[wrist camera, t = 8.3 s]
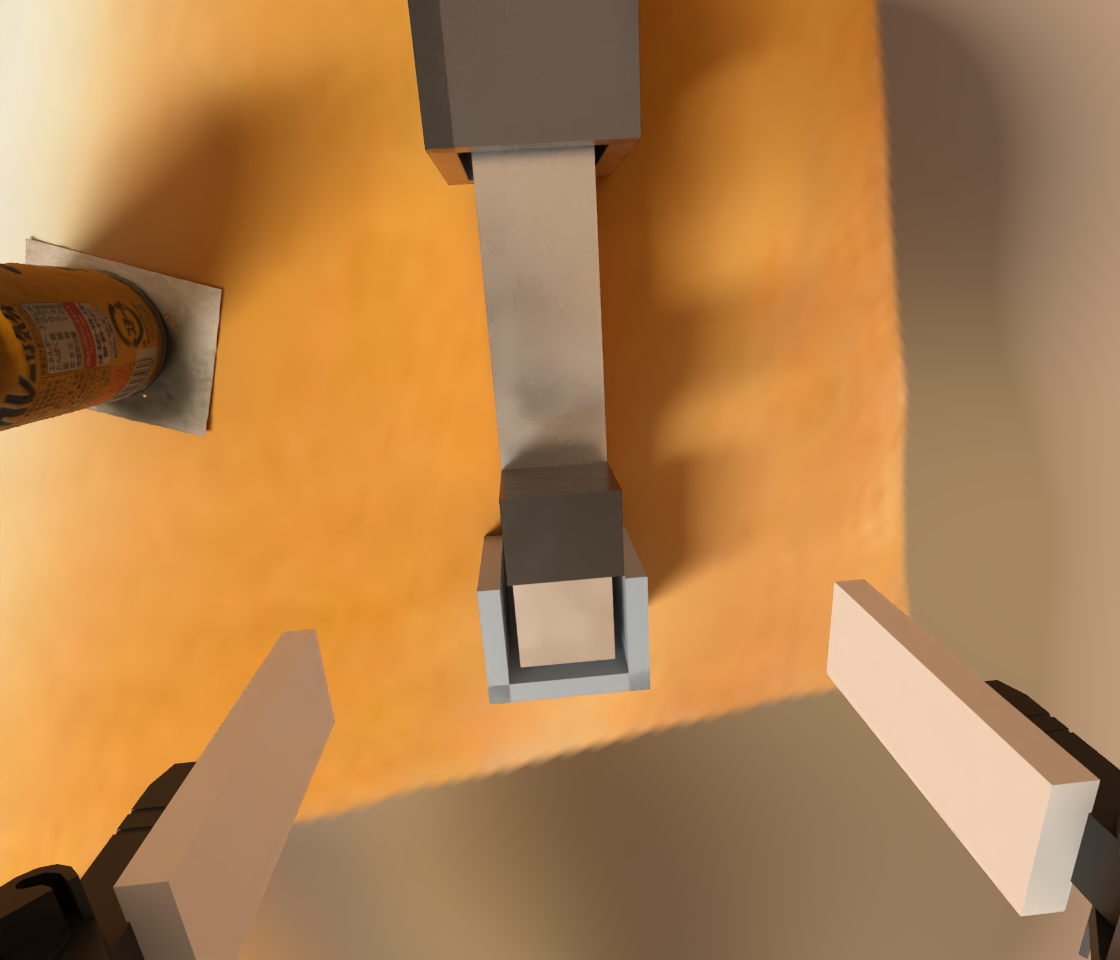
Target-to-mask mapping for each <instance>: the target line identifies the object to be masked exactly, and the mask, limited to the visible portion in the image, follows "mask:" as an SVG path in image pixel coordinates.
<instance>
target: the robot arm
mask: <svg viewBox="0 0 1120 960" xmlns="http://www.w3.org/2000/svg"><path fill="white" fill-rule="evenodd" d="M827 674H828V676H829V677H830V678H831V679H832V681H833V682H834V683H835V684H836V686H837V687H838V688H839V689H840V691H841V692H842V693H843V694H844V696H845V697H846V698H847V699H848V701H849V702H850V703H851V704H852V706H853V707H854V708H855V709H856V711H857V712H858V713H859V714H860V716H861V717H862V718H863V719H864V721H865V722H866V723H867V724H868V726H869V727H870V728H871V729H872V731H873V732H874V733H875V734H876V736H877V737H878V738H879V739H880V741H881V742H882V743H883V744H884V746H885V747H886V748H887V749H888V751H889V752H890V753H891V755H892V756H893V757H894V758H895V759H896V761H897V762H898V763H899V765H900V766H901V767H902V768H903V769H904V771H905V772H906V773H907V774H908V776H909V777H910V778H911V780H912V781H913V782H914V783H915V785H916V786H917V787H918V788H919V789H920V791H921V792H922V793H923V795H924V796H925V797H926V798H927V800H928V801H929V802H930V803H931V805H932V806H933V807H934V808H935V810H936V811H937V812H938V813H939V815H940V816H941V817H942V818H943V820H944V821H945V822H946V823H947V825H948V826H949V827H950V828H951V829H952V831H953V832H954V833H955V834H956V835H957V837H958V838H959V840H960V841H961V842H962V843H963V845H964V846H965V847H966V848H967V850H968V851H969V852H970V853H971V855H972V856H973V857H974V858H975V860H976V861H977V862H978V863H979V865H980V866H981V867H982V868H983V870H984V871H985V872H986V873H987V875H988V876H989V877H990V879H991V880H992V881H993V882H994V884H995V885H996V886H997V887H998V888H999V890H1000V891H1001V892H1002V894H1003V895H1004V896H1005V897H1006V898H1007V900H1008V901H1009V902H1010V903H1011V905H1012V906H1013V907H1014V908H1015V910H1016V911H1017V912H1018V914H1019V915H1020V916H1028V915H1037V914H1044V913H1053V912H1062V911H1065V908H1066V905H1067V901H1068V897H1069V894H1070V890H1071V886H1072V883H1073V884H1074V885H1075V886H1076V888H1077V889H1078V890H1079V891H1080V892H1081V893H1082V894H1083V895H1084V896H1085V897H1086V898H1087V899H1088V900H1089V901H1090V903H1091V904H1092V909H1091V913H1090V916H1089V919H1088V923H1087V926H1086V930H1085V933H1084V937H1083V940H1082V943H1081V947H1080V951H1079V955H1081V956H1083V957H1085V958H1088V955H1089V952H1090V950H1091V960H1120V770H1119V769H1118V768H1117V767H1116V766H1114V765H1113V764H1112V763H1111V762H1109V761H1108V760H1107V759H1106V758H1104V757H1103V756H1102V755H1100V754H1099V753H1098V752H1097V751H1096V750H1094V749H1093V748H1092V747H1091V746H1089V745H1088V744H1087V743H1086V742H1085V741H1083V740H1082V739H1081V738H1080V737H1078V736H1077V735H1076V734H1075V733H1073V732H1072V733H1070V732H1069V730H1068V728H1067V727H1066V726H1065V725H1063V724H1062V723H1061V722H1060V721H1058V720H1057V719H1056V718H1055V717H1050V715H1049V713H1048V712H1047V711H1046V710H1045V709H1043V708H1042V707H1041V706H1040V705H1038V704H1037V703H1036V702H1035V701H1034V700H1032V699H1031V698H1030V697H1029V696H1027V695H1026V694H1024V693H1022V692H1020V691H1018V690H1016V689H1014V688H1012V687H1010V686H1008V685H1006V684H1004V683H1002V682H1000V681H998V680H993V681H983V680H982V679H981V678H979V677H978V676H977V675H976V674H975V673H974V672H972V671H971V670H970V669H969V668H968V667H966V666H965V665H964V664H963V663H962V662H961V661H959V660H958V659H957V658H956V657H955V656H954V655H952V654H951V653H950V652H949V651H948V650H946V649H945V648H944V647H943V646H942V645H941V644H939V643H938V642H937V641H936V640H935V639H933V638H932V637H931V636H930V635H929V634H927V633H926V632H925V631H924V630H923V629H921V627H919V626H918V625H917V624H916V623H915V622H913V621H912V620H911V619H910V618H909V617H908V616H906V615H905V614H904V613H903V612H902V611H900V610H899V609H898V608H897V607H896V606H895V605H893V604H892V603H891V602H890V601H889V600H888V599H886V598H885V597H884V596H883V595H882V594H880V593H879V592H878V591H877V590H876V589H875V588H873V587H872V586H871V585H870V584H869V583H868V582H866V581H865V580H864V579H862V580H851V581H840V582H835V584H834V596H833V607H832V618H831V630H830V641H829V652H828V664H827ZM334 723H335V719H334V715H333V710H332V705H331V701H330V696H329V692H328V687H327V682H326V678H325V673H324V668H323V664H322V659H321V654H320V650H319V645H318V641H317V636H316V631H315V629H311V630H300V631H289V632H283V633H282V635H281V636H280V638H279V639H278V641H277V642H276V644H275V645H274V647H273V648H272V650H271V651H270V653H269V654H268V656H267V657H266V659H265V660H264V662H263V663H262V665H261V666H260V668H259V669H258V671H257V672H256V674H255V675H254V677H253V678H252V680H251V681H250V683H249V684H248V686H247V687H246V689H245V690H244V692H243V693H242V695H241V696H240V698H239V699H238V701H237V702H236V704H235V705H234V707H233V708H232V710H231V711H230V713H229V714H228V716H227V717H226V719H225V720H224V722H223V723H222V725H221V726H220V728H219V729H218V731H217V732H216V734H215V735H214V737H213V738H212V740H211V741H210V743H209V744H208V746H207V747H206V749H205V750H204V752H203V753H202V755H201V756H200V758H199V759H198V761H197V762H188V763H178V764H174V765H173V766H172V767H171V768H169V769H168V770H167V771H166V772H165V773H163V774H162V775H161V776H160V777H159V778H158V779H156V780H155V781H154V782H153V783H152V784H150V785H149V786H148V788H147V789H146V791H145V792H144V793H143V795H142V796H141V797H140V799H139V800H138V801H137V803H136V804H135V806H134V807H133V808H132V812H131V814H128V815H127V817H126V818H125V819H124V821H123V822H122V823H121V825H120V826H119V827H118V829H117V833H116V834H115V835H113V836H112V837H111V838H110V840H109V841H108V843H107V844H106V845H105V847H104V848H103V849H102V851H101V852H100V853H99V855H98V856H97V858H96V859H95V860H94V862H93V863H92V864H91V866H90V867H89V869H88V870H87V871H86V873H85V874H84V875H83V877H82V878H81V879H79V876H78V874H77V873H76V872H75V871H74V869H73V868H72V867H70V866H65V865H59V864H56V865H50V866H45V867H40V868H37V869H34V870H32V871H29V872H27V873H25V874H22V875H20V876H18V877H15V878H14V879H12V880H11V881H9V882H7V883H6V884H4V885H3V886H1V887H0V960H237V957H238V955H239V952H240V950H241V947H242V945H243V943H244V940H245V938H246V935H247V933H248V931H249V928H250V926H251V923H252V921H253V918H254V916H255V913H256V911H257V909H258V906H259V904H260V902H261V899H262V897H263V894H264V892H265V890H266V887H267V885H268V882H269V880H270V877H271V875H272V873H273V870H274V867H275V865H276V863H277V860H278V858H279V856H280V853H281V851H282V848H283V846H284V843H285V841H286V839H287V836H288V834H289V831H290V829H291V827H292V824H293V822H294V819H295V817H296V814H297V812H298V810H299V807H300V805H301V802H302V800H303V798H304V795H305V793H306V790H307V788H308V785H309V783H310V781H311V778H312V776H313V773H314V771H315V768H316V766H317V764H318V761H319V759H320V756H321V754H322V752H323V749H324V747H325V744H326V742H327V739H328V737H329V735H330V732H331V730H332V727H333V725H334Z"/></svg>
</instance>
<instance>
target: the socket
mask: <svg viewBox="0 0 1120 960" xmlns="http://www.w3.org/2000/svg"><path fill="white" fill-rule="evenodd" d="M623 546H624V576H617V577H612V594H613V618H614V642H615V659H607V660H596V661H585V662H575V663H564V664H553V665H543V666H532V667H521V666H520V655H519V645H518V634H517V624H516V614H515V603H514V593H513V586H508V585H507V575H506V565H505V555H504V544H503V535H493V536H485V537H484V544H483V552H482V559H481V566H480V574H479V581H478V588H477V595H478V604H479V612H480V621H481V630H482V638H483V647H484V655H485V664H486V673H487V681H488V690H489V698H490V704H499V703H509V702H519V701H530V700H540V699H551V698H561V697H571V696H582V695H592V694H603V693H613V692H624V691H634V690H644V689H650V667H649V620H648V576H647V574H646V572H645V570H644V568H643V565H642V563H641V561H640V559H639V557H638V554H637V552H636V550H635V548H634V545H633V543H632V541H631V539H630V537H629V534H628V532H627V530H626V528H625V526H624V525H623Z"/></svg>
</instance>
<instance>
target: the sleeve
mask: <svg viewBox="0 0 1120 960" xmlns="http://www.w3.org/2000/svg"><path fill="white" fill-rule="evenodd" d="M408 7H409V15H410V24H411V32H412V41H413V49H414V58H415V67H416V75H417V84H418V92H419V101H420V110H421V118H422V127H423V135H424V144H425V150H426V152H427V153H428V155H429V156H430V158H431V159H432V161H433V162H434V164H435V165H436V167H437V168H438V170H439V171H440V173H441V174H442V176H443V177H444V179H445V180H446V182H447V183H448V185H457V184H474V176H473V166H472V155H471V152H481V151H499V150H517V149H535V148H553V147H570V146H588V145H594V154H595V176H610V175H611V174H612V173H613V172H614V170H615V169H616V168H617V167H618V165H619V164H620V163H621V162H622V160H623V159H624V158H625V157H626V156H627V154H628V153H629V152H630V151H631V149H632V148H633V147H634V146H635V144H636V143H637V142H638V141H639V139H640V138H641V112H640V61H639V11H638V0H408Z"/></svg>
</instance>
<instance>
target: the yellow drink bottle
mask: <svg viewBox="0 0 1120 960" xmlns="http://www.w3.org/2000/svg"><path fill="white" fill-rule="evenodd" d="M221 292H222V290H221V289H218V288H214V287H210V286H206V285H202V284H198V283H195V282H191V281H187V280H183V279H179V278H175V277H172V276H167V275H164V274H160V273H156V272H152V271H149V270H145V269H141V268H137V267H134V266H130V265H126V264H123V263H119V262H115V261H112V260H107V259H104V258H100V257H96V256H92V255H89V254H85V253H81V252H77V251H73V250H69V249H65V248H61V247H58V246H54V245H50V244H46V243H42V242H39V241H35V240H30V239H26V264H19V263H6V264H0V431H3V430H7V429H10V428H14V427H19V426H21V425H25V424H28V423H32V422H36V421H40V420H44V419H48V418H53V417H56V416H60V415H63V414H66V413H71V412H74V411H78V410H82V409H85V408H86V409H90V410H94V411H97V412H103V413H107V414H111V415H114V416H118V417H123V418H126V419H129V420H133V421H139V422H144V423H148V424H151V425H157V426H162V427H166V428H170V429H174V430H177V431H181V432H184V433H190V434H194V435H199V436H203V437H205V431H206V421H207V419H208V411H209V405H210V394H211V388H212V381H213V372H214V361H215V356H216V352H217V350H216V341H217V331H218V325H219V311H220V301H221ZM165 315H168V316H169V317H170V319H169V320H167V319H166V317H165ZM172 321H174V322H175V323H176V324H177V328H176V327H174V326H173V324H172ZM143 394H145V395H146V396H147V397H143Z"/></svg>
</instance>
